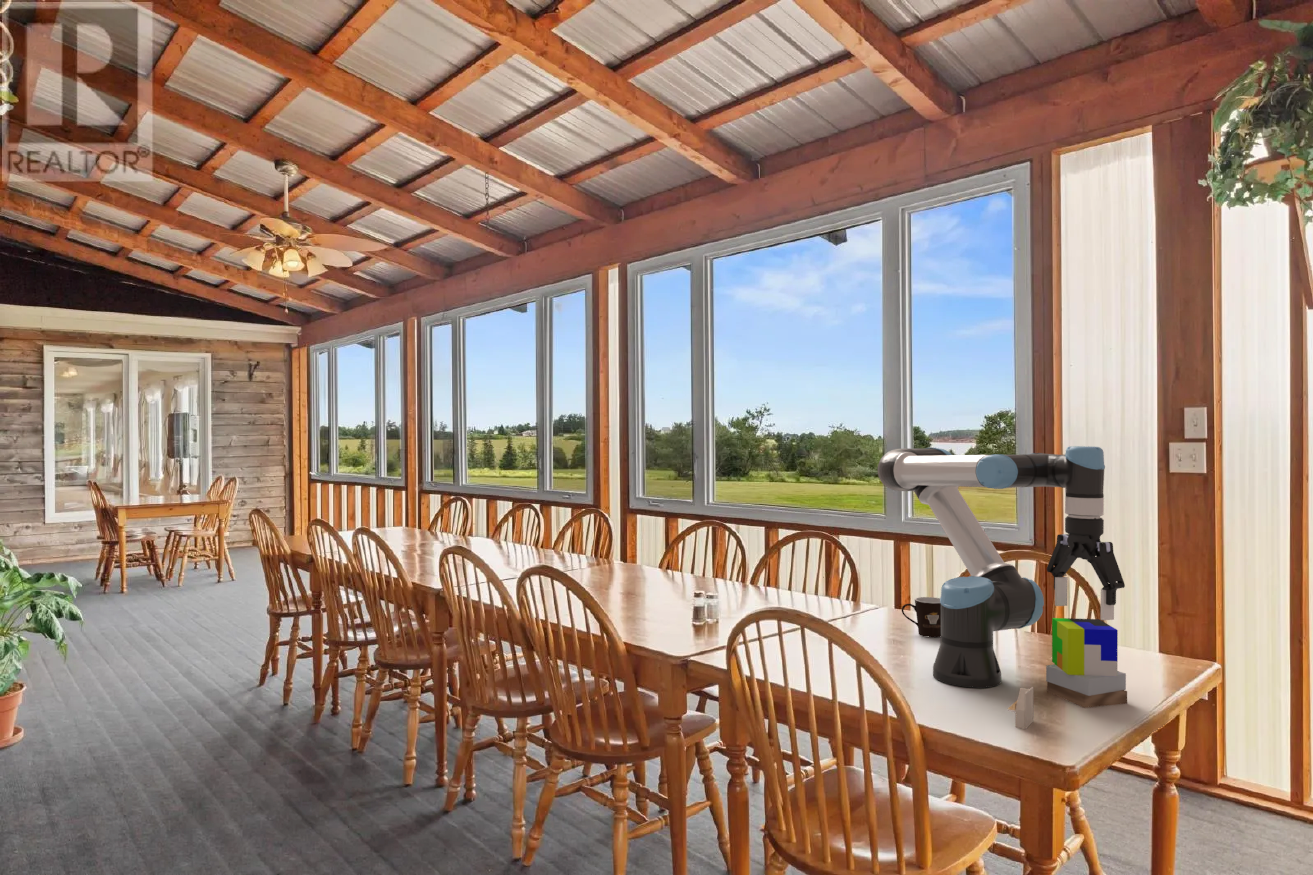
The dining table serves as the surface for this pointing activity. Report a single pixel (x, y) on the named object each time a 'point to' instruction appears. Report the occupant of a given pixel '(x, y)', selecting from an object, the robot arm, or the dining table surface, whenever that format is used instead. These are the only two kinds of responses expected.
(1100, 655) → the puzzle toy
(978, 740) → the dining table surface
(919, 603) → the coffee mug
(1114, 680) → the slate-grey block
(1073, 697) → the walnut block
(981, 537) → the robot arm
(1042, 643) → the dining table surface
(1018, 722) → the architectural model
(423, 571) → the dining table surface
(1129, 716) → the dining table surface
